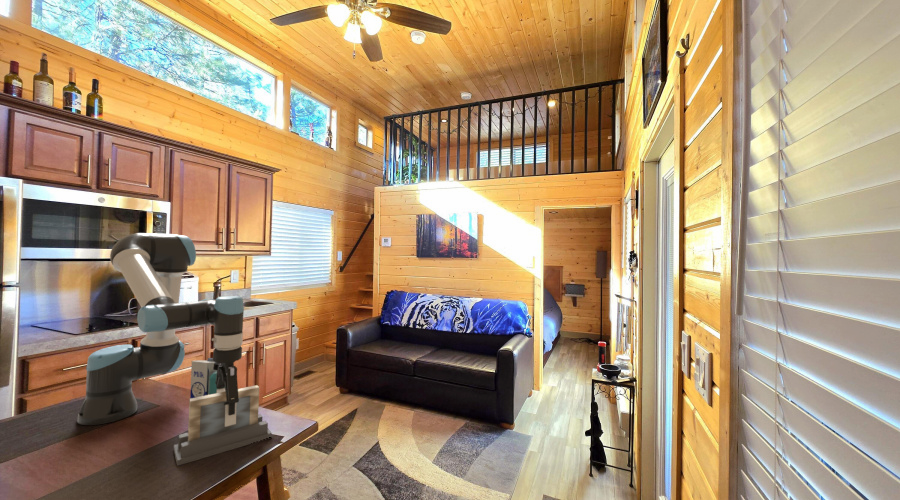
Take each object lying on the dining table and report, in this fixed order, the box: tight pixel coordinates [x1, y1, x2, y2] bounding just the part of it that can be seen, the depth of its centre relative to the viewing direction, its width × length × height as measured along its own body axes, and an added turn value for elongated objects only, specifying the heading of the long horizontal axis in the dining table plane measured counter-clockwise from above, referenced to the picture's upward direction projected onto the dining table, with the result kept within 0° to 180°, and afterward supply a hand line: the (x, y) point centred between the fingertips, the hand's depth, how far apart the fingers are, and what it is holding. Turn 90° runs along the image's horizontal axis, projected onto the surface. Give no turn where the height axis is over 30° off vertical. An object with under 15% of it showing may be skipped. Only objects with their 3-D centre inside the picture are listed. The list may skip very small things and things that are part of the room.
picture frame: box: [187, 384, 260, 441], centre depth 110 cm, size 18×3×14 cm, turn 132°
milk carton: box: [189, 357, 217, 399], centre depth 128 cm, size 7×7×20 cm
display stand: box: [173, 413, 272, 467], centre depth 110 cm, size 24×10×4 cm, turn 132°
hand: (225, 416), depth 110 cm, fingers open, 13 cm apart
